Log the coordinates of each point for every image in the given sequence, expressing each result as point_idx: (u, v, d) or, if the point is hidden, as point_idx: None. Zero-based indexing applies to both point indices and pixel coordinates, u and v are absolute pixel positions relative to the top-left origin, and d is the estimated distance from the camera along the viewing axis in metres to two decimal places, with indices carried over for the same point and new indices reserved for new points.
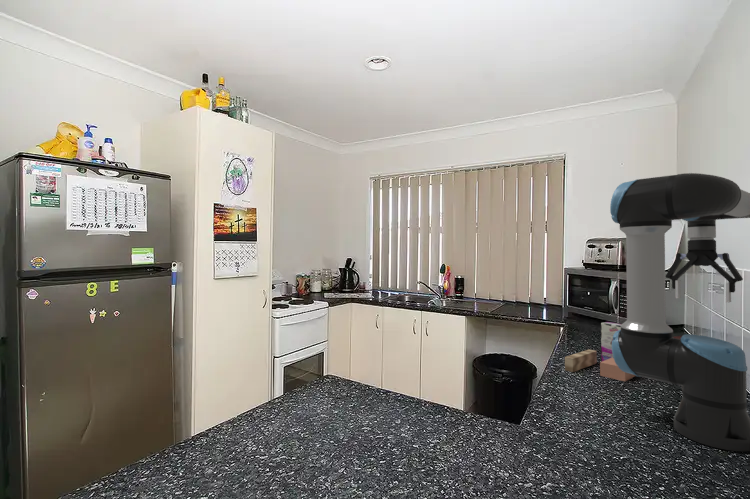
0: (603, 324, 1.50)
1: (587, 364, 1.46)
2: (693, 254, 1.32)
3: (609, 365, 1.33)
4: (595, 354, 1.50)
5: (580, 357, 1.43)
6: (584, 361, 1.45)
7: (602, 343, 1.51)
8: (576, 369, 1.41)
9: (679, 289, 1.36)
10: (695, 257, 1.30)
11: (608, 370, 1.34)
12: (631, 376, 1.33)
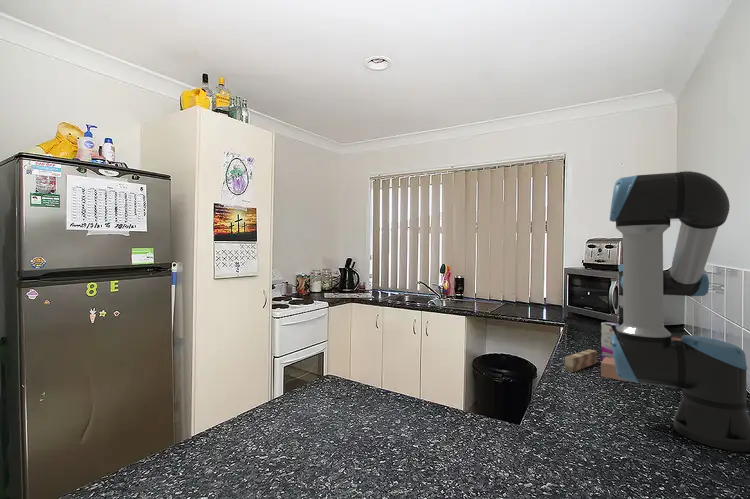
0: (603, 324, 1.50)
1: (587, 364, 1.46)
2: (622, 320, 1.34)
3: (610, 365, 1.33)
4: (595, 354, 1.50)
5: (580, 357, 1.43)
6: (584, 361, 1.45)
7: (602, 343, 1.51)
8: (576, 369, 1.41)
9: None
10: None
11: (609, 370, 1.33)
12: None
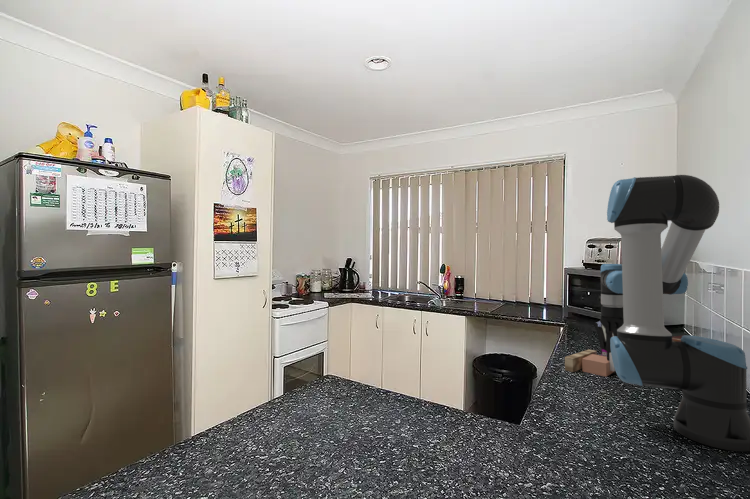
0: None
1: None
2: (604, 318, 1.39)
3: (591, 361, 1.38)
4: (595, 354, 1.50)
5: (580, 357, 1.43)
6: None
7: None
8: (576, 369, 1.41)
9: None
10: (606, 323, 1.37)
11: (590, 366, 1.39)
12: (611, 371, 1.38)
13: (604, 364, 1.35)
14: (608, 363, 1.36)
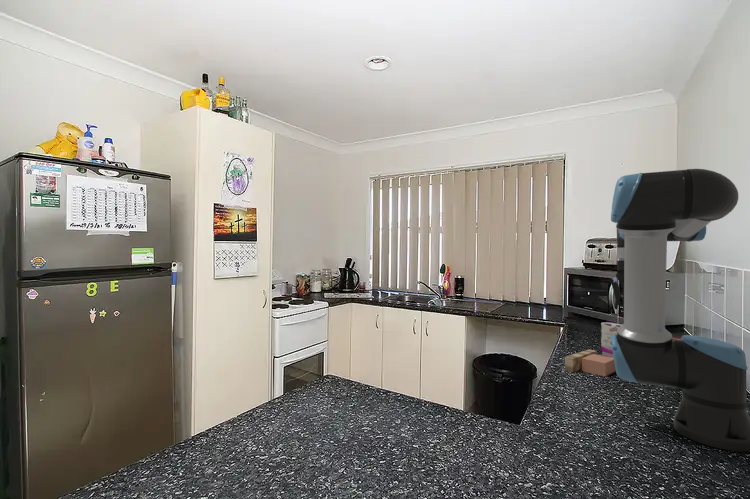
0: (603, 324, 1.50)
1: None
2: (620, 272, 1.34)
3: (590, 361, 1.39)
4: None
5: (580, 357, 1.43)
6: None
7: (602, 343, 1.51)
8: (576, 369, 1.41)
9: None
10: (623, 277, 1.33)
11: (589, 365, 1.39)
12: (611, 371, 1.38)
13: (603, 364, 1.35)
14: (608, 363, 1.36)
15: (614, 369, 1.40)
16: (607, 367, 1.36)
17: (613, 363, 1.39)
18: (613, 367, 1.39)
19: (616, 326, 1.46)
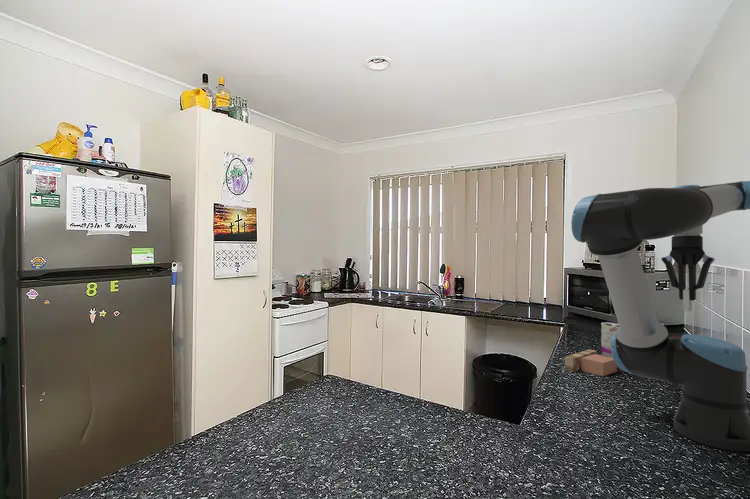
0: (603, 324, 1.50)
1: None
2: (675, 250, 1.19)
3: (589, 360, 1.39)
4: None
5: (580, 357, 1.43)
6: None
7: (602, 343, 1.51)
8: (576, 369, 1.41)
9: None
10: (679, 255, 1.17)
11: (588, 365, 1.39)
12: (611, 371, 1.38)
13: (601, 364, 1.35)
14: (606, 363, 1.36)
15: (615, 369, 1.39)
16: (606, 367, 1.36)
17: (613, 363, 1.39)
18: (613, 367, 1.39)
19: (616, 326, 1.46)
